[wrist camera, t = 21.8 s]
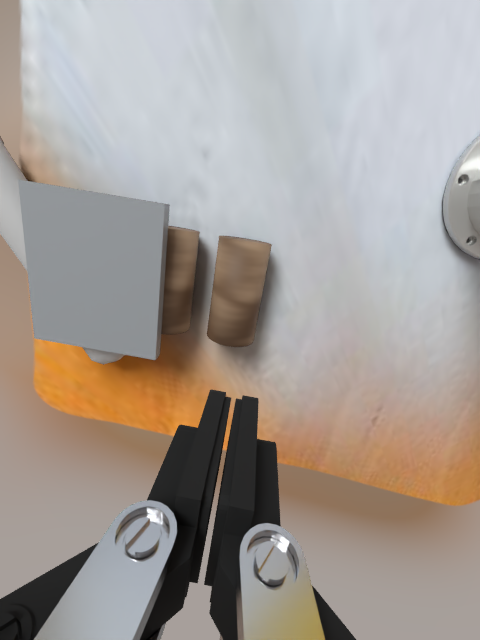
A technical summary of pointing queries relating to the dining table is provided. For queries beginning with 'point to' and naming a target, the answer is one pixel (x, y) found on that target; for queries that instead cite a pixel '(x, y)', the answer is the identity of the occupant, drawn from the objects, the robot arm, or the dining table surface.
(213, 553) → the robot arm
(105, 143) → the dining table surface
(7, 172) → the tube
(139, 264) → the slab
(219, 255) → the rollers
